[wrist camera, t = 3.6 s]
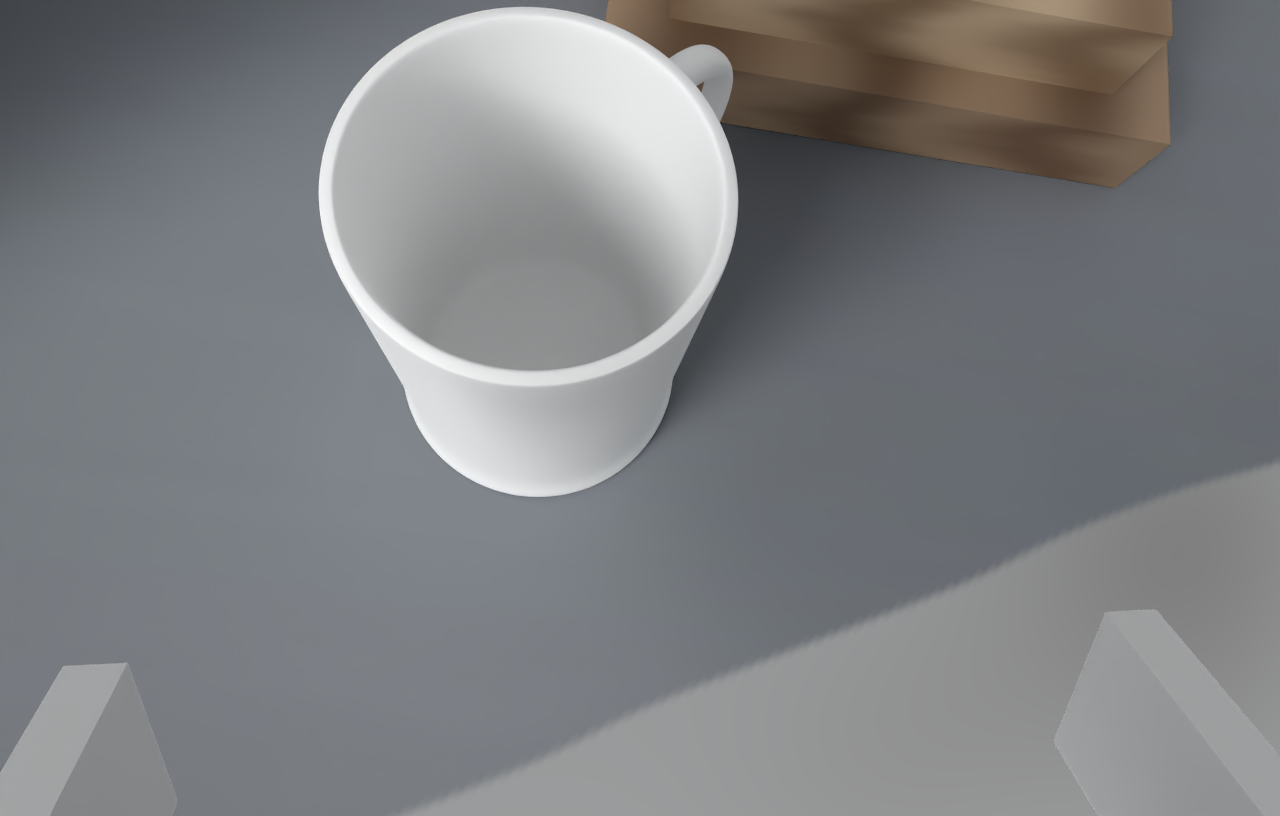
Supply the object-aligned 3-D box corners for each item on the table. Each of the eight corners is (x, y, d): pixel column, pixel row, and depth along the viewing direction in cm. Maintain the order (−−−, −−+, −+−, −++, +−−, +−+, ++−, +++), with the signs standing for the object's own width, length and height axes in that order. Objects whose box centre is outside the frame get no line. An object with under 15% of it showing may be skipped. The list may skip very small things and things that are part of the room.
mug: (611, 136, 31) (647, -161, 19) (790, 304, 30) (941, 98, 18) (347, 362, 28) (205, 171, 17) (536, 555, 27) (526, 497, 16)
